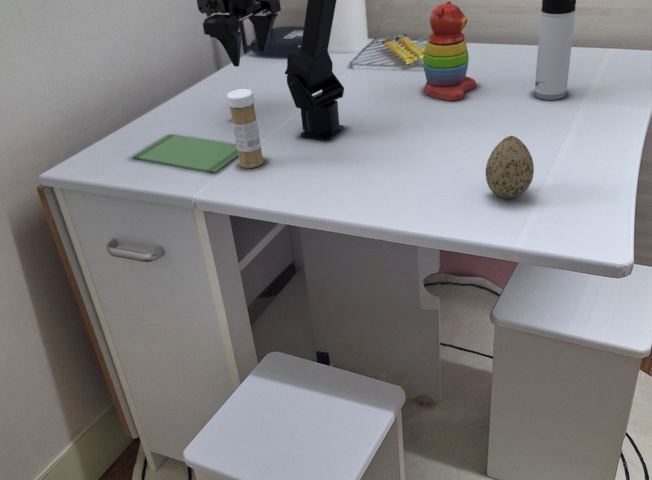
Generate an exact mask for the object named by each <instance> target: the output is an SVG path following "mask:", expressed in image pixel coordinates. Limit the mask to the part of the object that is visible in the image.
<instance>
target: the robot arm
mask: <svg viewBox="0 0 652 480" xmlns="http://www.w3.org/2000/svg"><path fill="white" fill-rule="evenodd" d="M306 3H307V4H306V10H305V16H304V22H303V23H304V24H303V30H302V36H301V37H302V38H301V44H300V48H299V49H298V50H296V51H293V52H291V53H288V55H287V60H286V69H285V71H284V74H285V75H286V84H287V87H288V89H289V92H290V95H291V98H292V101H293V103H294V105H295V107H296V108H297V109H300V117H301V127H302V131H303V132H301V133H300V137H302V138H308V139H315V140H322V141H331V139H333V138H334V137H335V136H337V134H339V133H340V132H341V131H342V130H344V129H345V126H344V125H342V124H340V115H339V105H338V100H339V99H341V98H343V96H344V93H345V87H344V86H343V84H342V83H341V82H340V80H339V79H338V77H336V75H335V74H334V72H333V65H334V64H333V60H332V58H331V56H330V53H329V45H330V39H331V34H332V28H333V22H334V16H335V11H336V4H337V0H307V2H306ZM196 6H197V9H198V11H199V13H201V14H205V15H206V18H204V20H203V21H202V22H201V23H202V30H203V35H205V36H209V37H210V38H214V39H216V40H217V41H218V42H219V43H220V45H222V47H223V49H224V50H225V52H226V54H227V56H228V59H230V61H231V64H232V65H233V67H237V68H238V67H240V64H241V53H242V52H241V49H242V34H243V33H242V31H240V28H241V22H243V21H245V20H247V19H248V20H249V21H250V22H251V24H252V26H253V30H254V34H255V39H256V43H257V47H258V51H259V53H265V52H266V49H267V46H268V43H269V39H270V37H271V33H272V30H273V27H274V24H275V22H276V19H277V17H279V12H281V11H282V7H281V1H280V0H196Z"/></svg>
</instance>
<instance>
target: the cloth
mask: <svg viewBox="0 0 652 480" xmlns="http://www.w3.org/2000/svg"><path fill="white" fill-rule="evenodd" d="M237 158H239V154H238V149H237V145H236V144H232V143H227V142H219V141H213V140H208V139H201V138H196V137H195V138H194V137H187V136H181V135H175V134H167V135H166V136H163V137H162V138H161V139H158V140H157V141H156V142H154V143H152V144H150V145H149V146H147V147H146V148H144V149H142V150H141V151H139V152H137V153H136V154H134V155H132V159H134V160H139V161H146V162H152V163H156V164H163V165H167V166H174V167H179V168H185V169H188V170H189V169H190V170H195V171H201V172H206V173H210V174H211V173H212V174H216V173H217V172H219V171H220V170H222V169H223V168H224V167H226V166H227V165H229V164H230V163H232V162H233V161H234V160H236V159H237Z"/></svg>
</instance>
